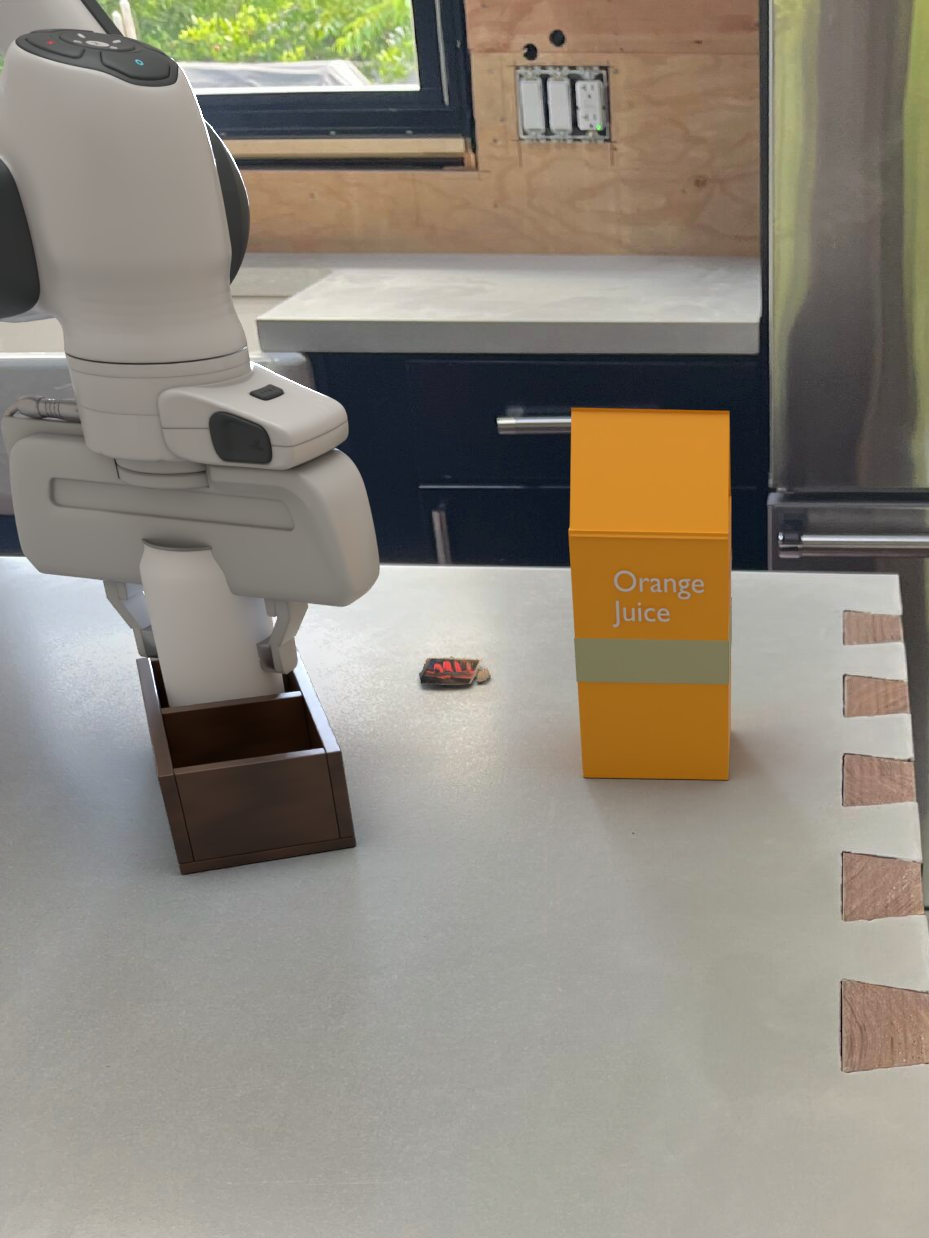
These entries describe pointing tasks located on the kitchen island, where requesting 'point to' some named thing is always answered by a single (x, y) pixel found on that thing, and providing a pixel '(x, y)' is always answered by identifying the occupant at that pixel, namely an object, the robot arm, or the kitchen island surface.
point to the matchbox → (452, 671)
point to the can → (204, 628)
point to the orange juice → (652, 591)
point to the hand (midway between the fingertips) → (219, 662)
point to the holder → (248, 774)
